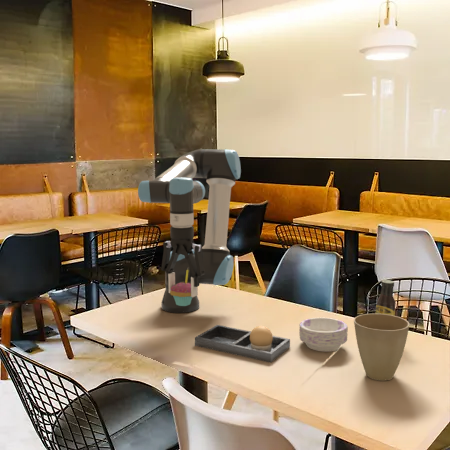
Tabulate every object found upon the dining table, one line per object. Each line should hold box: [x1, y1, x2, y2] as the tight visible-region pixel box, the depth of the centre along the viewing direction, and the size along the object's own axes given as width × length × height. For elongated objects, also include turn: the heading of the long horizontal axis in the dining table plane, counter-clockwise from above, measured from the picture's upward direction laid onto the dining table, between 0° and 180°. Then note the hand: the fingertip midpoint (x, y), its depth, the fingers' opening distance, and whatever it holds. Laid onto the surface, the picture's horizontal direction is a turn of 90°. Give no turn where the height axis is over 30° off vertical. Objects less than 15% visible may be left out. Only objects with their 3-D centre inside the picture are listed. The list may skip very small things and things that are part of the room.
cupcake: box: [170, 269, 192, 306], centre depth 176 cm, size 9×8×12 cm
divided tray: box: [194, 324, 291, 364], centre depth 172 cm, size 27×14×4 cm, turn 60°
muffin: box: [250, 325, 274, 352], centre depth 169 cm, size 7×7×8 cm
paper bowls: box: [299, 317, 349, 352], centre depth 173 cm, size 15×15×8 cm
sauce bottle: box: [375, 279, 397, 316], centre depth 180 cm, size 7×6×20 cm
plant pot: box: [353, 313, 410, 381], centre depth 152 cm, size 15×15×16 cm
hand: (183, 294), depth 177 cm, fingers closed on cupcake, 8 cm apart
